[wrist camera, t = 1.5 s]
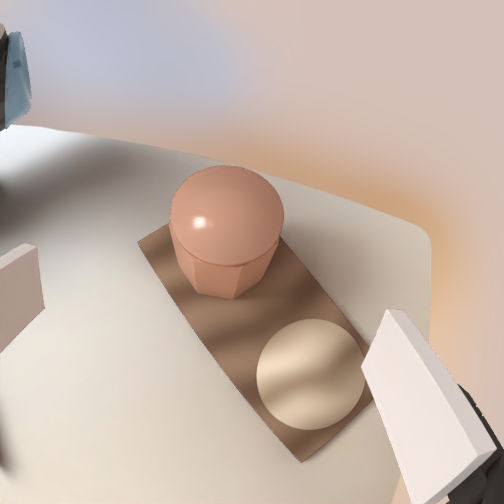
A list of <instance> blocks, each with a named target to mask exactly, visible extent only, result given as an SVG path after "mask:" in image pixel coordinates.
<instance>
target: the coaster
mask: <svg viewBox="0 0 504 504" xmlns="http://www.w3.org/2000/svg"><path fill="white" fill-rule="evenodd" d="M363 361H364V357H363V354H362V351H361V349H360V347H359V345H358V344H357V342H356V341H355V339H354V338H353V337H352V336H351V335H350V334H349V333H348V332H347V331H346V330H345V329H343V328H342V327H340V326H338V325H336V324H334V323H332V322H329V321H326V320H321V319H305V320H300V321H297V322H294V323H291V324H289V325H287V326H286V327H284V328H283V329H281V330H280V331H278V332H277V333H276V334H275V335H274V336H273V337H272V338H271V339H270V340H269V341H268V343H267V344H266V346H265V347H264V349H263V351H262V353H261V355H260V358H259V361H258V366H257V374H256V379H257V387H258V392H259V394H260V397H261V399H262V401H263V403H264V405H265V407H266V408H267V409H268V411H269V412H270V413H271V414H272V415H273V416H274V417H275V418H277V419H278V420H279V421H281V422H283V423H284V424H286V425H289V426H291V427H294V428H298V429H304V430H316V429H322V428H325V427H328V426H331V425H333V424H335V423H337V422H338V421H340V420H342V419H343V418H344V417H345V416H347V415H348V414H349V413H350V412H351V410H352V409H353V408H354V407H355V405H356V404H357V402H358V400H359V399H360V397H361V394H362V392H363V388H364V385H365V376H364V373H363V371H362V368H361V366H362V363H363Z"/></svg>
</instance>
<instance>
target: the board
mask: <svg viewBox="0 0 504 504" xmlns="http://www.w3.org/2000/svg"><path fill="white" fill-rule="evenodd" d="M138 245H139V247H140V248H141V250H142V252H143V253H144V255H145V257H146V258H147V260H148V261H149V263H150V265H151V266H152V268H153V269H154V271H155V273H156V274H157V276H158V277H159V279H160V280H161V282H162V284H163V285H164V287H165V288H166V290H167V291H168V293H169V294H170V296H171V297H172V299H173V300H174V302H175V303H176V305H177V306H178V308H179V309H180V311H181V312H182V314H183V315H184V317H185V318H186V320H187V321H188V323H189V324H190V325H191V327H192V328H193V330H194V331H195V333H196V334H197V335H198V337H199V338H200V340H201V341H202V342H203V344H204V345H205V346H206V348H207V349H208V351H209V352H210V353H211V355H212V356H213V357H214V359H215V360H216V361H217V363H218V364H219V365H220V367H221V368H222V369H223V371H224V372H225V373H226V375H227V376H228V377H229V379H230V380H231V381H232V382H233V384H234V385H235V386H236V388H237V389H238V390H239V391H240V393H241V394H242V395H243V396H244V398H245V399H246V400H247V401H248V403H249V404H250V405H251V406H252V408H253V409H254V410H255V411H256V412H257V414H258V415H259V416H260V417H261V418H262V420H263V421H264V422H265V423H266V424H267V426H268V427H269V428H270V429H271V430H272V431H273V433H274V434H275V435H276V436H277V437H278V438H279V439H280V441H281V442H282V443H283V444H284V445H285V446H286V447H287V448H288V450H289V451H290V452H291V453H292V454H293V455H294V456H295V457H296V458H297V459H298V460H299V461H300V462H301V463H302V462H303V461H304V460H306V459H307V458H308V457H309V456H311V455H312V454H313V453H314V452H316V451H317V450H318V449H319V448H320V447H322V446H323V445H324V444H325V443H326V442H328V441H329V440H330V439H331V438H332V437H333V436H334V435H336V434H337V433H338V432H339V431H340V430H341V429H342V428H343V427H344V426H346V425H347V424H348V423H349V422H350V421H351V420H352V419H353V418H354V417H355V416H356V415H357V414H358V413H359V412H360V411H361V410H362V409H363V408H364V407H365V406H366V405H367V404H368V403H369V402H370V401H371V400H372V399H373V395H372V393H371V390H370V388H369V385H368V383H367V380H366V378H365V385H364V388H363V392H362V394H361V397H360V399H359V400H358V402H357V404H356V405H355V407H354V408H353V409H352V410H351V412H350V413H349V414H348V415H347V416H345V417H344V418H343V419H342V420H340V421H338V422H337V423H335V424H333V425H331V426H328V427H325V428H322V429H316V430H304V429H298V428H294V427H291V426H289V425H286V424H284V423H283V422H281V421H279V420H278V419H277V418H275V417H274V416H273V415H272V414H271V413H270V412H269V411H268V409H267V408H266V407H265V405H264V403H263V401H262V399H261V397H260V394H259V392H258V387H257V379H256V374H257V366H258V361H259V358H260V355H261V353H262V351H263V349H264V347H265V346H266V344H267V343H268V341H269V340H270V339H271V338H272V337H273V336H274V335H275V334H276V333H277V332H278V331H280V330H281V329H283V328H284V327H286V326H287V325H289V324H291V323H294V322H297V321H300V320H305V319H321V320H326V321H329V322H332V323H334V324H336V325H338V326H340V327H342V328H343V329H345V330H346V331H347V332H348V333H349V334H350V335H351V336H352V337H353V338H354V339H355V341H356V342H357V344H358V345H359V347H360V349H361V351H362V354H363V357H364V359H365V357H366V355H367V353H368V351H369V349H370V348H369V347H368V345H367V344H366V343H365V341H364V340H363V339H362V338H361V336H360V335H359V334H358V332H357V331H356V330H355V329H354V327H353V326H352V325H351V323H350V322H349V321H348V320H347V318H346V317H345V316H344V315H343V313H342V312H341V311H340V310H339V308H338V307H337V306H336V304H335V303H334V302H333V301H332V299H331V298H330V297H329V296H328V294H327V293H326V292H325V291H324V290H323V288H322V287H321V286H320V285H319V283H318V282H317V281H316V280H315V278H314V277H313V276H312V275H311V273H310V272H309V271H308V270H307V269H306V267H305V266H304V265H303V264H302V262H301V261H300V260H299V259H298V258H297V256H296V255H295V254H294V253H293V251H292V250H291V249H290V248H289V247H288V245H287V244H286V243H285V242H284V241H283V239H282V238H281V237H280V236H279V242H278V246H277V248H276V250H275V252H274V254H273V256H272V258H271V260H270V262H269V265H268V267H267V269H266V271H265V273H264V275H263V277H262V279H261V281H259V282H258V283H256V284H255V285H253V286H252V287H251V288H249V289H248V290H246V291H245V292H243V293H242V294H240V295H239V296H238V297H236V298H235V299H233V300H232V299H226V298H220V297H215V296H209V295H204V294H198V293H197V292H196V290H195V289H194V287H193V286H192V284H191V283H190V282H189V280H188V279H187V277H186V276H185V274H184V273H183V271H182V270H181V268H180V267H179V265H178V261H177V257H176V253H175V249H174V245H173V241H172V237H171V233H170V229H169V223H168V224H167V225H165V226H163V227H162V228H160V229H158V230H157V231H155V232H153V233H152V234H150V235H148V236H147V237H145V238H143V239H142V240H140V241H138Z"/></svg>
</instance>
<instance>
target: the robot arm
mask: <svg viewBox="0 0 504 504" xmlns="http://www.w3.org/2000/svg"><path fill="white" fill-rule="evenodd" d="M31 102H32V94H31V86H30V78H29V72H28V65H27V59H26V53H25V47H24V42H23V38H22V36H21V33H20V32H15V33H14V32H12V33H10V35H9V36H8V35H7V34H6V31H5V28H4V26H3V24H2V23H0V131H2V130H4V129H7V128H8V127H9V125H11V124H12V123H14V122H15V121H17V120H18V119H20V118H21V117H23V116H24V115H25V114H27V112H28V111H29V109H30V107H31ZM43 309H45V307H44V300H43V294H42V287H41V280H40V271H39V262H38V251H37V246H34V245H30V244H26V243H23V244H21V245H20V246H18V247H16V248H14V249H13V250H11V251H9V252H8V253H6V254H4V255H3V256H1V257H0V353H1V352H2V351H3V350H4V349H5V348H6V347H7V346H8V345H9V344H10V343H11V341H12V340H13V339H14V338H15V337H16V336H17V335H18V334H19V333H20V332H21V331H22V330H23V329H24V328H25V327H26V326H27V325H28V324H29V323H30V322H31V321H32V320H33V319H34V318H35V317H36V316H37V315H38V314H39V313H40V312H41V311H42V310H43ZM361 368H362V371H363V373H364V376H365V378H366V380H367V383H368V385H369V388H370V390H371V393H372V395H373V398H374V400H375V403H376V406H377V408H378V411H379V413H380V416H381V419H382V421H383V424H384V426H385V429H386V432H387V434H388V437H389V440H390V443H391V445H392V448H393V451H394V454H395V457H396V459H397V462H398V465H399V468H400V471H401V474H402V477H403V480H404V483H405V485H406V489H407V492H408V495H409V498H410V501H411V504H436V503H437V502H439V501H440V500H441V499H442V498H444V497H445V496H446V495H448V498H449V500H450V501H449V502H448V503H446V504H504V449H503V447H502V446H501V444H500V442H499V441H498V439H497V437H496V436H495V434H494V432H493V431H492V429H491V428H490V426H489V424H488V423H487V421H486V419H485V418H484V416H482V413H481V411H480V410H479V408H478V407H476V404H475V402H474V401H473V399H472V398H471V396H470V395H469V393H468V392H467V391H465V390H464V389H463V388H462V387H461V386H460V385H458V384H457V383H456V382H455V380H454V379H453V377H452V376H451V374H450V373H449V372H448V370H447V369H446V367H445V366H444V364H443V363H442V361H441V360H440V359H439V357H438V356H437V354H436V353H435V352H434V350H433V349H432V347H431V346H430V345H429V343H428V342H427V341H426V339H425V338H424V337H423V335H422V334H421V332H420V331H419V330H418V328H417V327H416V326H415V325H414V323H413V322H412V321H411V319H410V318H409V317H408V315H407V314H406V313H405V311H404V310H396V309H388V308H387V309H386V312H385V314H384V316H383V319H382V321H381V324H380V326H379V328H378V331H377V333H376V335H375V337H374V340H373V342H372V344H371V346H370V349H369V351H368V353H367V355H366V357H365V359H364V361H363V363H362V366H361Z"/></svg>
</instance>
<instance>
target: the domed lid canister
mask: <svg viewBox="0 0 504 504" xmlns="http://www.w3.org/2000/svg"><path fill="white" fill-rule="evenodd" d="M170 215H171V219H170V222H169V229H170V233H171V237H172V241H173V245H174V249H175V253H176V257H177V261H178V265H179V267H180V268H181V270H182V271H183V273H184V274H185V276H186V277H187V279H188V280H189V282H190V283H191V284H192V286H193V287H194V289H195V290H196V292H197V293H198V294H204V295H209V296H215V297H220V298H226V299H232V300H233V299H235V298H236V297H238V296H239V295H240V294H242V293H243V292H245V291H246V290H248V289H249V288H251V287H252V286H253V285H255V284H256V283H258V282H259V281H261V279H262V277H263V275H264V273H265V271H266V269H267V267H268V265H269V262H270V260H271V258H272V256H273V254H274V252H275V250H276V248H277V246H278V242H279V234H280V232H281V229H282V226H283V220H284V212H283V206H282V202H281V200H280V197H279V195H278V194H277V192H276V190H275V189H274V188H273V186H272V185H271V184H270V183H269V182H268V181H267V180H265V179H264V178H263V177H262V176H260V175H258V174H257V173H255V172H252V171H250V170H248V169H245V168H241V167H236V166H215V167H210V168H207V169H203V170H201V171H199V172H197V173H195V174H193V175H192V176H190V177H189V178H188V179H186V180H185V181H184V182H183V183H182V184H181V186H180V187H179V188H178V190H177V191H176V193H175V195H174V198H173V200H172V204H171V211H170Z"/></svg>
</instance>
